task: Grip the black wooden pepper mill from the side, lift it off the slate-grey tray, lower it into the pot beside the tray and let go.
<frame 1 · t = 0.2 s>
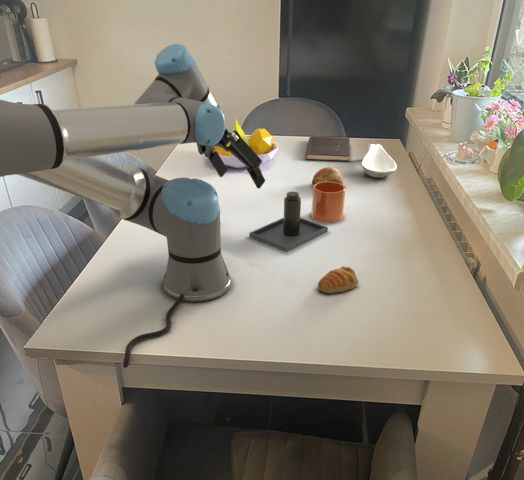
hand: (242, 178, 140), 15 cm above the table, tool tilted 35°, fingers open, 13 cm apart
bread roll: (327, 187, 177), on the table
pastry: (338, 287, 126), on the table
tray: (288, 235, 147), on the table
pot: (326, 217, 157), on the table
fruit bowl: (241, 161, 199), on the table
hardcover book: (328, 152, 208), on the table
spoon rest: (374, 170, 191), on the table
pepper mill: (291, 233, 148), resting on tray
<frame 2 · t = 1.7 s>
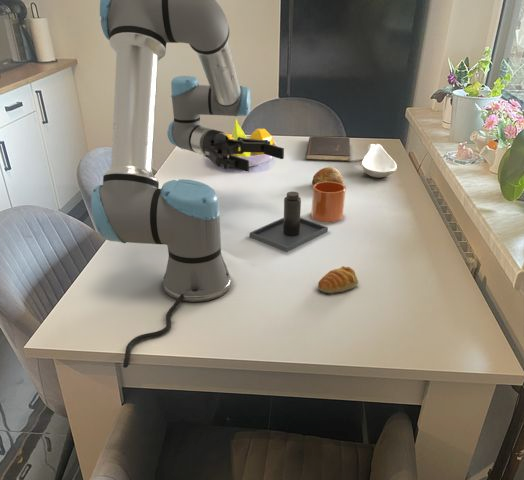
hand: (265, 159, 142), 18 cm above the table, tool horizontal, fingers open, 13 cm apart
nothing on the table moved.
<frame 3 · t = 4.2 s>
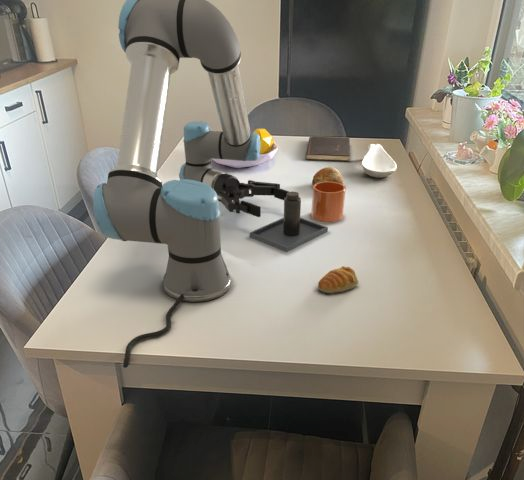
hand: (276, 204, 147), 7 cm above the table, tool horizontal, fingers open, 13 cm apart
nothing on the table moved.
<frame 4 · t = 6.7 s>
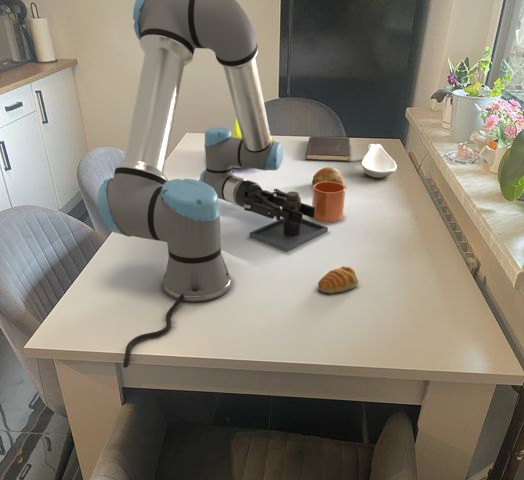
hand: (307, 215, 141), 7 cm above the table, tool horizontal, fingers closed on pepper mill, 4 cm apart
pepper mill: (291, 232, 148), resting on tray, touching gripper
everything else where it was.
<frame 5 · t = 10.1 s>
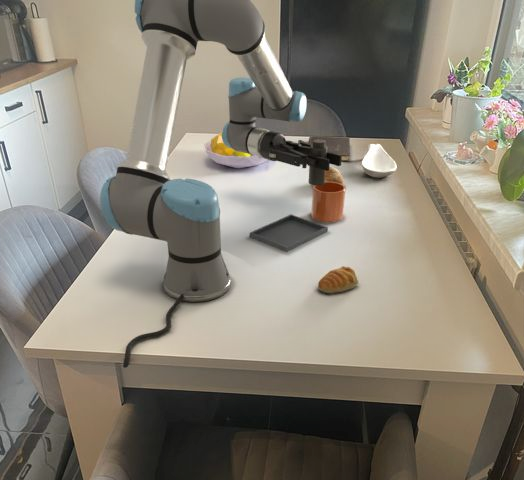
hand: (334, 163, 140), 18 cm above the table, tool horizontal, fingers closed on pepper mill, 4 cm apart
pepper mill: (316, 182, 147), point 12 cm above the table, touching gripper
everything else where it was.
when the fingers open (11 cm above the table, at t = 13.3 s): pepper mill drops 3 cm, resting on pot.
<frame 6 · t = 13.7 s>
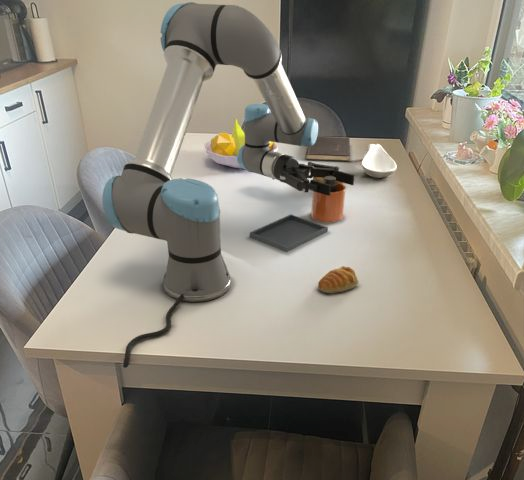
hand: (341, 185, 149), 11 cm above the table, tool horizontal, fingers open, 10 cm apart
pepper mill: (327, 215, 157), point 1 cm above the table, touching pot
everything else where it was.
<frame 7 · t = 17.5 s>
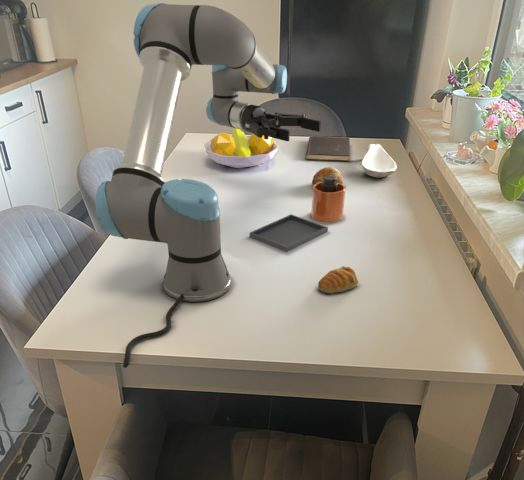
hand: (304, 131, 149), 22 cm above the table, tool horizontal, fingers open, 13 cm apart
nothing on the table moved.
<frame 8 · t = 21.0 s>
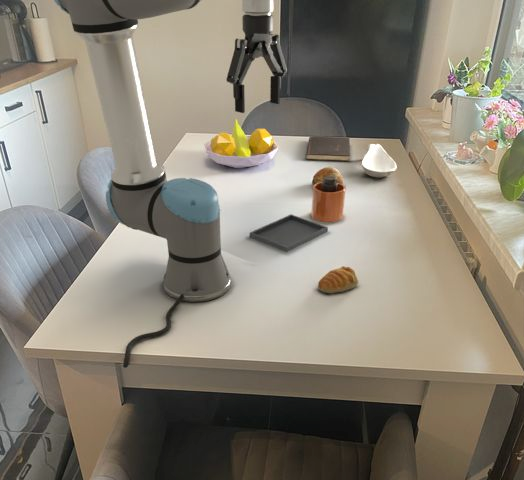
hand: (257, 107, 144), 29 cm above the table, tool pointing down, fingers open, 13 cm apart
nothing on the table moved.
at the end: pepper mill 0.0 cm off-centre in the pot, point 0.6 cm above the pot's base; the gripper is holding nothing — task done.
